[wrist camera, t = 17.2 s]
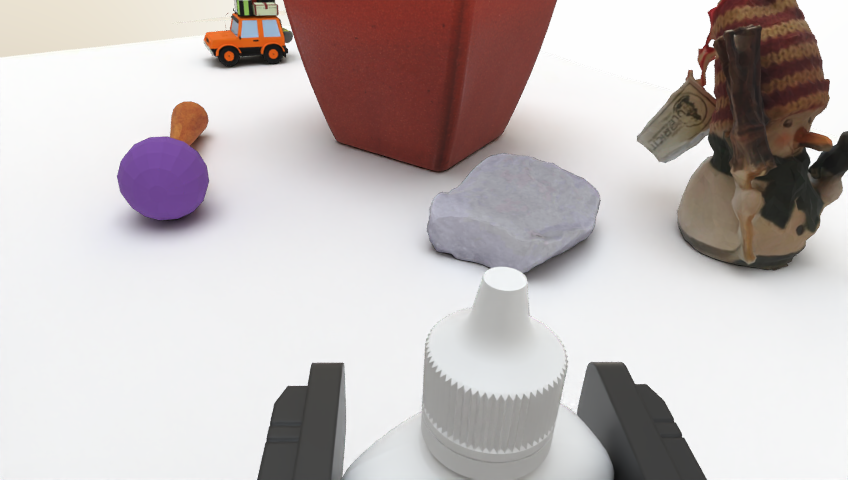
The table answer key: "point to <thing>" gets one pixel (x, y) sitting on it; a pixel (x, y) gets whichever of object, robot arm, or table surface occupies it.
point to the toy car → (250, 34)
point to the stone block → (513, 213)
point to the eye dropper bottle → (490, 401)
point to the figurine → (753, 137)
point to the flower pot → (419, 70)
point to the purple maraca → (167, 168)
